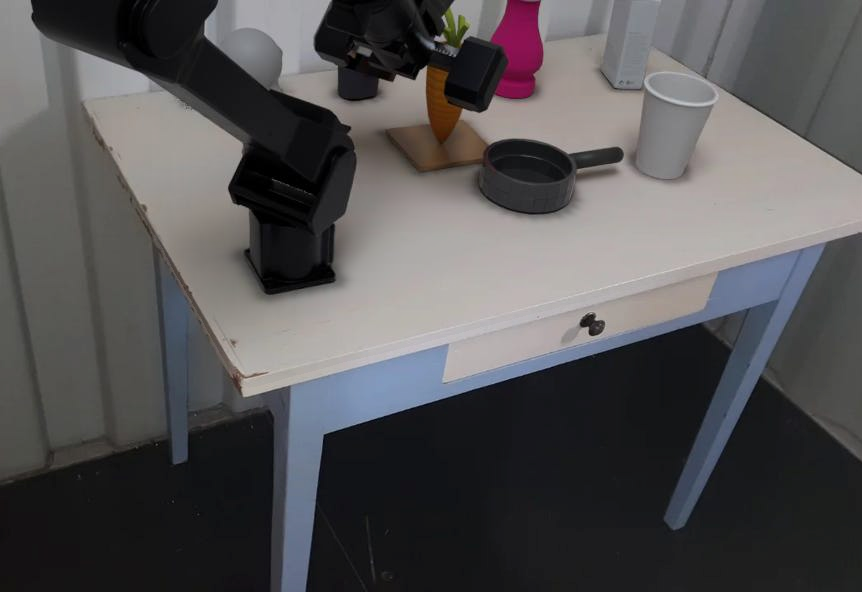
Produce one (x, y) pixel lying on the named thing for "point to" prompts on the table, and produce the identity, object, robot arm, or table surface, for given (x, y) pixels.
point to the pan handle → (597, 157)
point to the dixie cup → (672, 122)
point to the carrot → (438, 109)
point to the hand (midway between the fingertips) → (431, 90)
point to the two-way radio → (356, 84)
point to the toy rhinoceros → (255, 55)
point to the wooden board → (438, 146)
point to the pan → (527, 175)
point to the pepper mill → (519, 47)
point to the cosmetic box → (629, 42)
